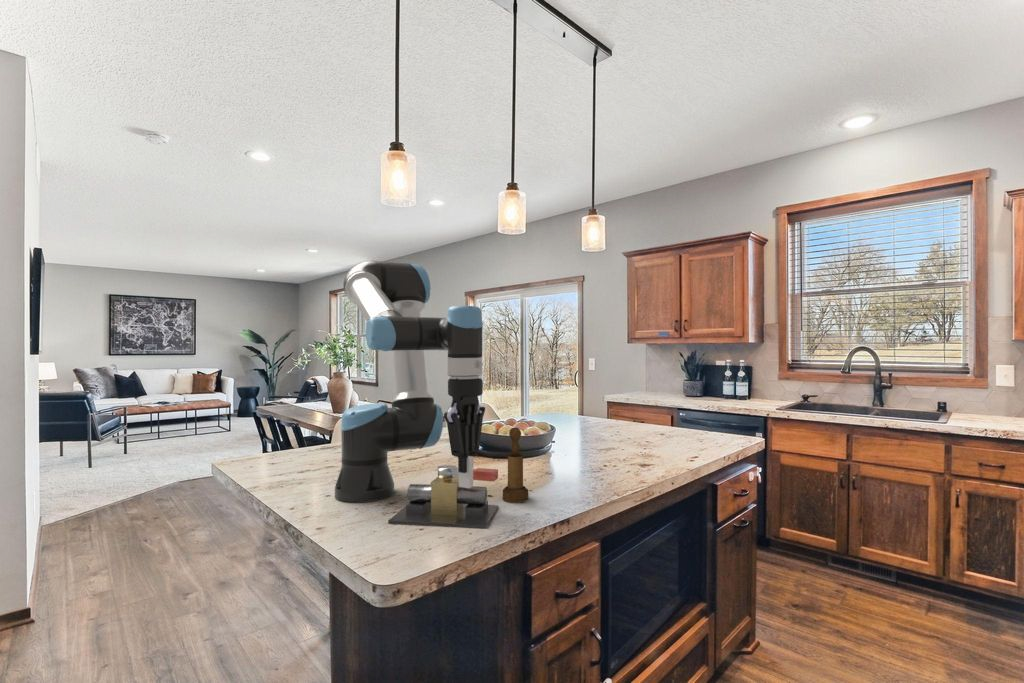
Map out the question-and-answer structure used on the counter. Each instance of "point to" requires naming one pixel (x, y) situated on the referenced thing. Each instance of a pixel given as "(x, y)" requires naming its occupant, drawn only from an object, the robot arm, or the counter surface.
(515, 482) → the brown pepper mill
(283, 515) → the counter surface
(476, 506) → the valve
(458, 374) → the robot arm
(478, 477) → the lever
